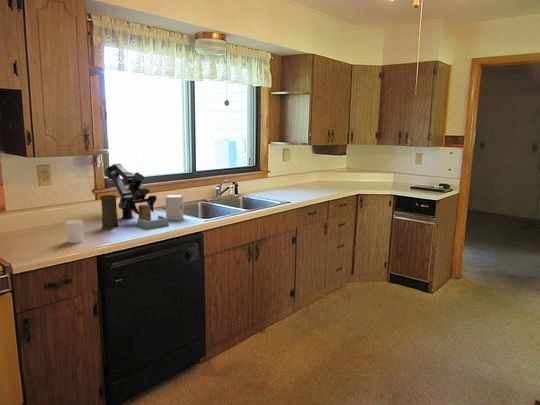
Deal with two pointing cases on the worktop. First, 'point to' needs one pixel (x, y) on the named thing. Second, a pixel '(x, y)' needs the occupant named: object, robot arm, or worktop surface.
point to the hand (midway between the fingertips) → (145, 212)
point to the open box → (153, 223)
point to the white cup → (74, 231)
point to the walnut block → (144, 212)
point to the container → (109, 212)
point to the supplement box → (174, 207)
